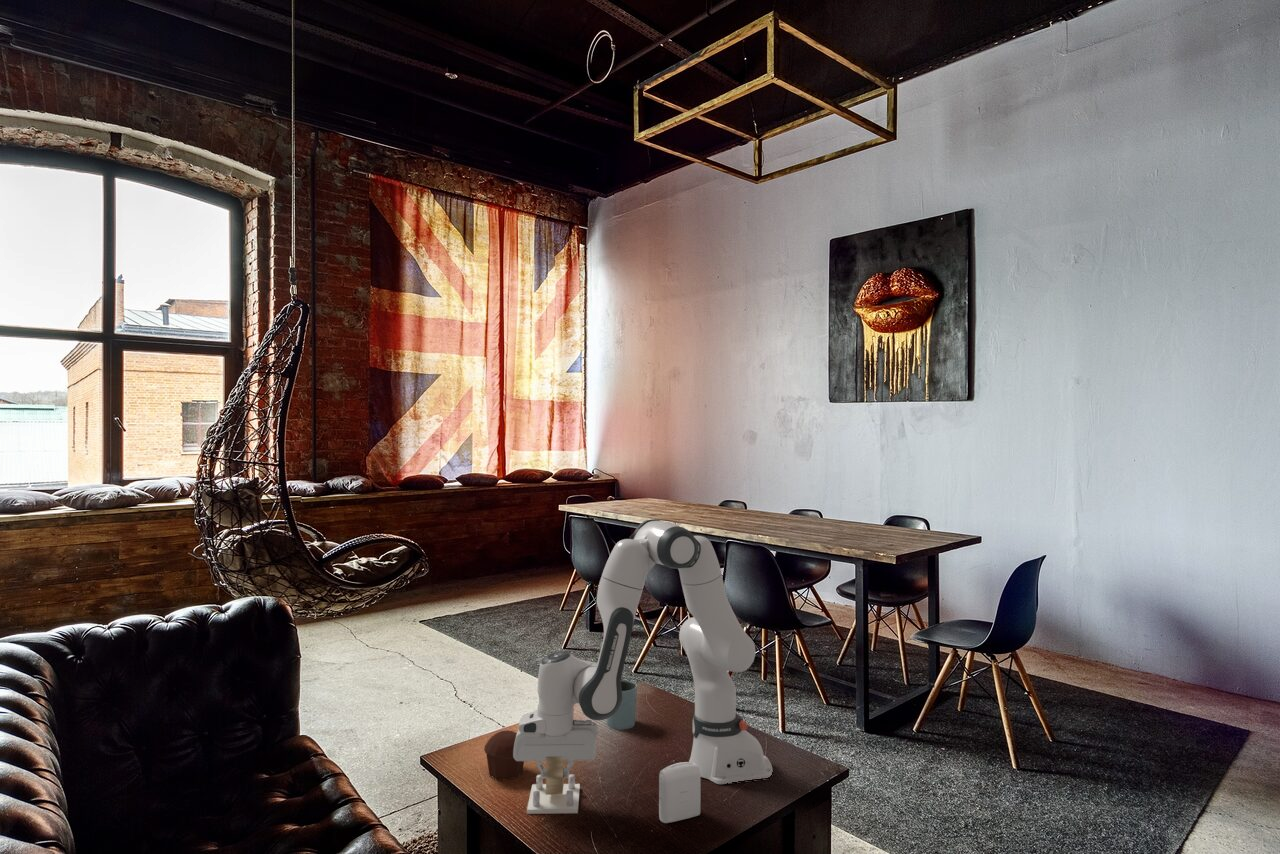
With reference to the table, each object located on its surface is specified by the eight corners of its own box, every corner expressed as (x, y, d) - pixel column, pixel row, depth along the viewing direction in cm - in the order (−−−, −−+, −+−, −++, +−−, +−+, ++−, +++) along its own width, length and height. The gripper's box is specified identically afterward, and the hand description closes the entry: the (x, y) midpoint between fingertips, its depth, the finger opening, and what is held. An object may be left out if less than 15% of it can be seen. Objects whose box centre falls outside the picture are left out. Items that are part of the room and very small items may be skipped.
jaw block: (563, 786, 175) (563, 749, 175) (562, 794, 171) (562, 757, 171) (547, 786, 174) (547, 749, 175) (545, 794, 170) (546, 757, 171)
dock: (579, 787, 179) (579, 771, 179) (577, 813, 167) (577, 796, 167) (532, 788, 178) (532, 772, 178) (526, 813, 166) (527, 796, 166)
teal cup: (639, 729, 215) (640, 689, 215) (607, 732, 212) (607, 692, 212) (632, 716, 224) (633, 678, 224) (601, 718, 222) (601, 680, 222)
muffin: (533, 776, 185) (534, 737, 185) (493, 786, 179) (493, 747, 179) (516, 757, 195) (517, 721, 195) (478, 767, 189) (478, 730, 189)
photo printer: (663, 826, 162) (664, 772, 162) (655, 816, 166) (656, 763, 166) (703, 816, 166) (703, 764, 166) (694, 807, 170) (695, 756, 170)
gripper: (598, 714, 176) (597, 770, 176) (515, 715, 175) (515, 771, 175) (597, 725, 170) (597, 782, 170) (512, 726, 169) (511, 784, 169)
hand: (554, 777), depth 173 cm, fingers closed on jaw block, 4 cm apart
